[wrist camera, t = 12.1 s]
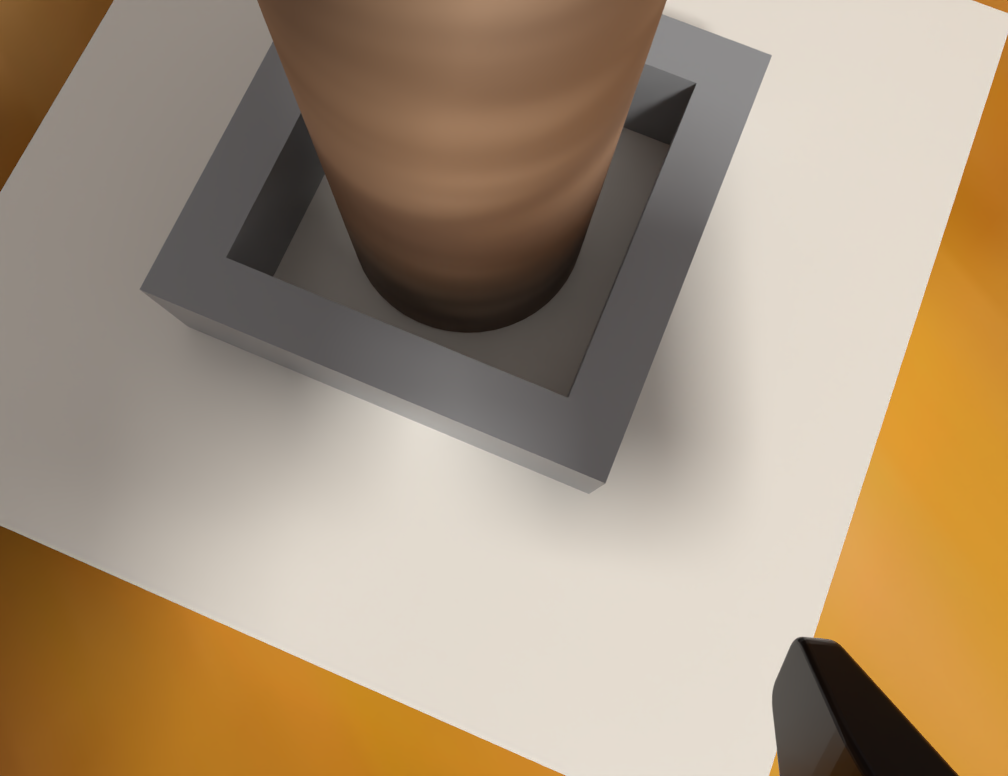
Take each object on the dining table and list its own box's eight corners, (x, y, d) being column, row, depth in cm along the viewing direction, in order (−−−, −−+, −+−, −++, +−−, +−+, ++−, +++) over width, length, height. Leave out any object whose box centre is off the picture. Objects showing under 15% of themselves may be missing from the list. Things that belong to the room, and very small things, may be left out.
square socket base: (728, 836, 17) (790, 908, 13) (-122, 462, 18) (-265, 439, 15) (989, 41, 21) (1088, -62, 17) (276, -221, 22) (236, -366, 18)
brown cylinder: (434, 404, 17) (323, -15, 5) (282, 190, 18) (-164, -658, 6) (654, 252, 18) (1068, -451, 6) (498, 55, 19) (547, -945, 6)
